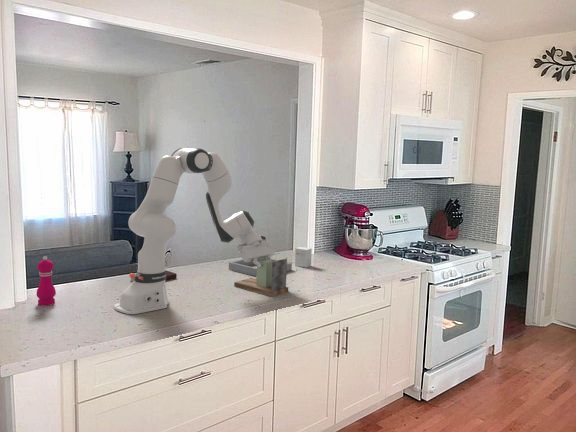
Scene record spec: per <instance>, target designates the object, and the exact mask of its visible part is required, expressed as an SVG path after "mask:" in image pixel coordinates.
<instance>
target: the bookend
mask: <svg viewBox="0 0 576 432" xmlns="http://www.w3.org/2000/svg"><path fill="white" fill-rule="evenodd" d="M276 260H277V261H273V262H272V286H270V287H267V288H265V287H261V286H257V285H256V278H254V277H249V278H245V279H240V280H238V281H234V284H233V287H235V288H238V289H239V288H240V289H242V288H243V290H247V291H251V292H254V293H257V294H262V295H264V296H269V297H275V296H278V295H281V294H285V293H287V292H289V287H288V286H287V272H288V271H287V262H288V258H282V259H276Z"/></svg>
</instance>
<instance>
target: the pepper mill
mask: <svg viewBox="0 0 576 432" xmlns="http://www.w3.org/2000/svg"><path fill="white" fill-rule="evenodd" d="M36 267H37V270H38V271H39V272H38V275H39V278H40V280H39V285H38V286H37V290H36V297H37V298H38V300H37V303H38V304H39V305H38V304H37V305H38V306H41V305H48V306H51V305H50V304H52V305H54V304H55V301H56V299H55V298H54V297H55V296H56V295H57V293H56V288H55V286H54V284H53V281H52V275H53V269H54V263H53V261H52V260H50V259H48V256H46V255H45V256H43V257H42V260H40V261H39V262H38V263H37V266H36Z"/></svg>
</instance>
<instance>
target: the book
mask: <svg viewBox="0 0 576 432" xmlns="http://www.w3.org/2000/svg"><path fill="white" fill-rule="evenodd" d="M175 279H177V273H175V272H172V271H169V270H166V280H165V282H167V281H171V280H175ZM133 281H134V278H130V280H129V282H131V283H132V282H133Z"/></svg>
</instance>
